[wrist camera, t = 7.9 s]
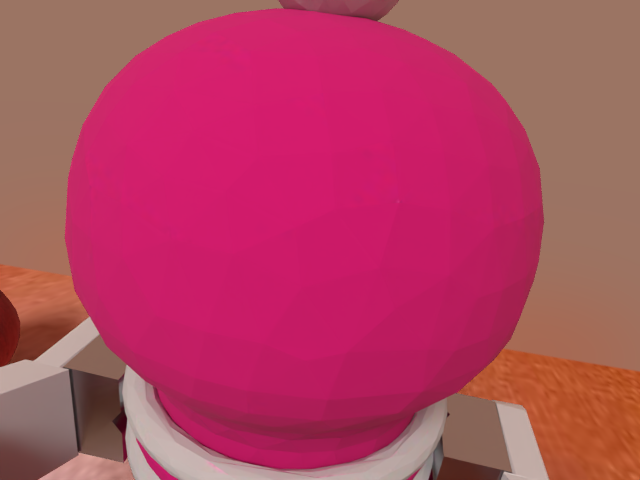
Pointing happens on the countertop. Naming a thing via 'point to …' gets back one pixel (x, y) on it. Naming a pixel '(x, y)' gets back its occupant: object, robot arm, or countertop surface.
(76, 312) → the countertop surface
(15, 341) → the onion
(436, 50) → the pepper mill
